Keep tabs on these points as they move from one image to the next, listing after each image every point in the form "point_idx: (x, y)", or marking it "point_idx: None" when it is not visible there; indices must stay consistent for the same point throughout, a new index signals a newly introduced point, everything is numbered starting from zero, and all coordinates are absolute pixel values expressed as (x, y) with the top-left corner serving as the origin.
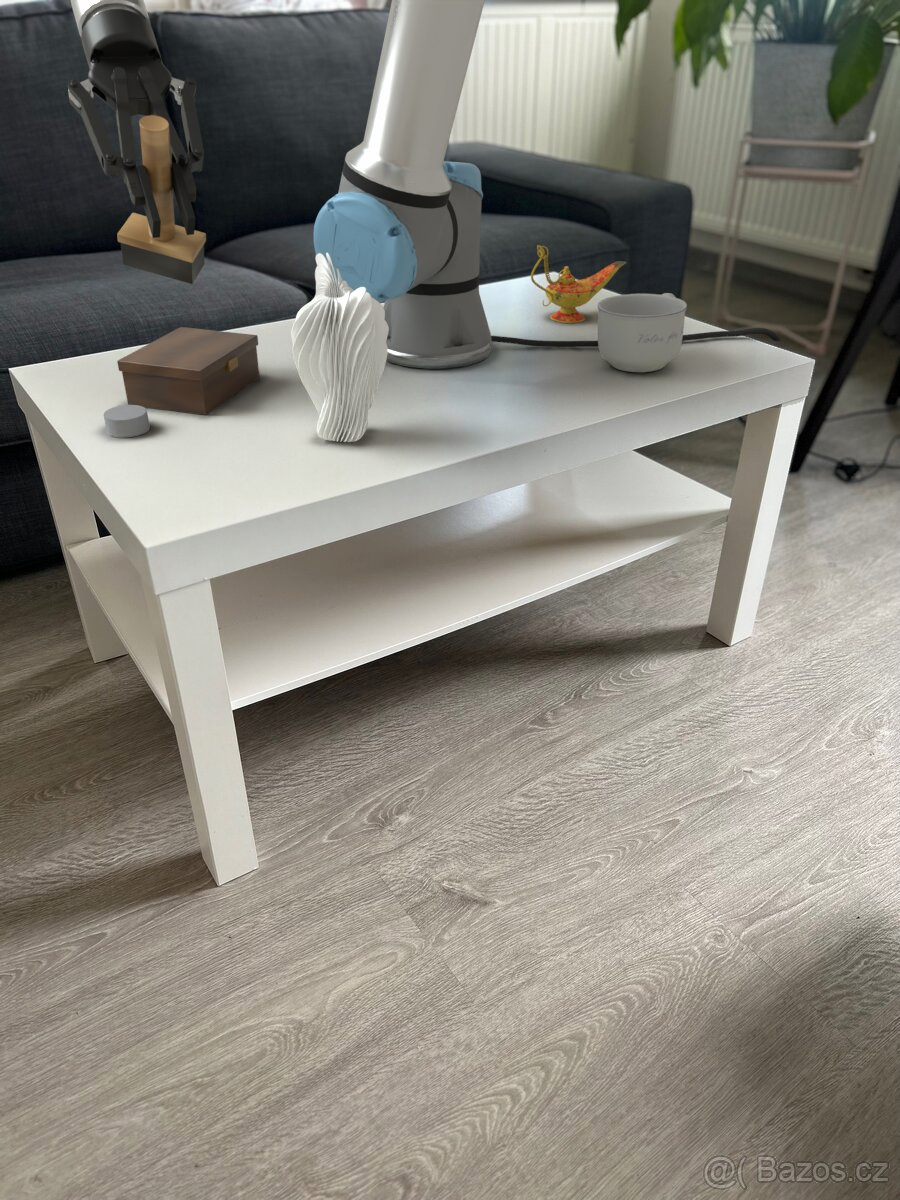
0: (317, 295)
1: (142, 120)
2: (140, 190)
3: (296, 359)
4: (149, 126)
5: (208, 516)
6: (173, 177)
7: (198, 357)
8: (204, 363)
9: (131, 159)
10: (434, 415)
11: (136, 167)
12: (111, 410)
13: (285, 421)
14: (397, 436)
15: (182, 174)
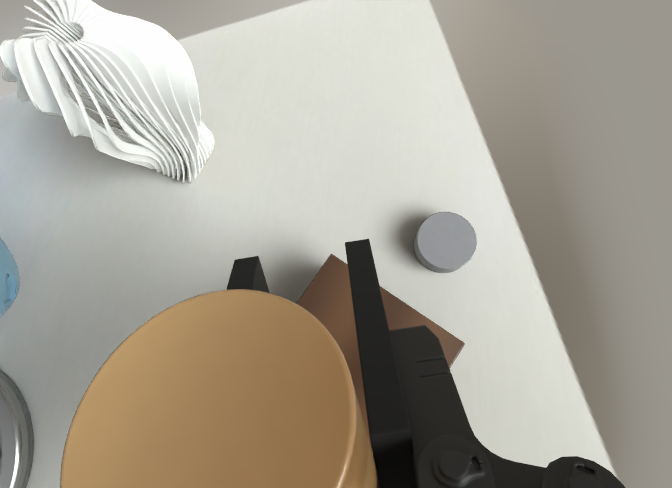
0: (94, 48)
1: (316, 466)
2: (401, 351)
3: (193, 83)
4: (268, 345)
5: (359, 8)
6: None
7: (328, 320)
8: (321, 285)
9: (442, 465)
10: (61, 192)
11: (414, 464)
12: (466, 251)
13: (240, 221)
14: None
15: None
